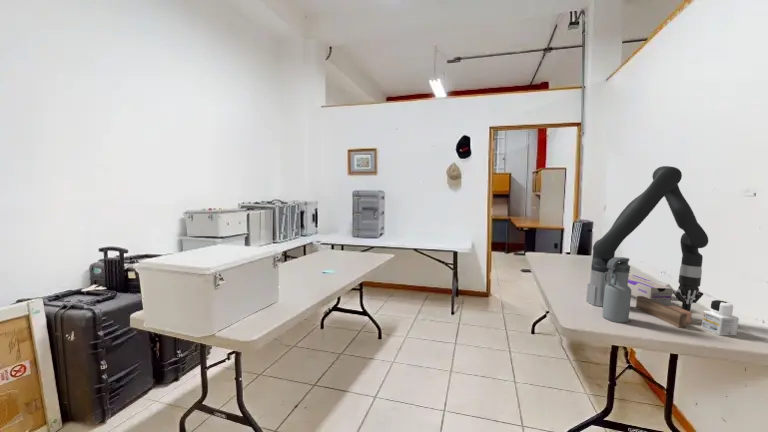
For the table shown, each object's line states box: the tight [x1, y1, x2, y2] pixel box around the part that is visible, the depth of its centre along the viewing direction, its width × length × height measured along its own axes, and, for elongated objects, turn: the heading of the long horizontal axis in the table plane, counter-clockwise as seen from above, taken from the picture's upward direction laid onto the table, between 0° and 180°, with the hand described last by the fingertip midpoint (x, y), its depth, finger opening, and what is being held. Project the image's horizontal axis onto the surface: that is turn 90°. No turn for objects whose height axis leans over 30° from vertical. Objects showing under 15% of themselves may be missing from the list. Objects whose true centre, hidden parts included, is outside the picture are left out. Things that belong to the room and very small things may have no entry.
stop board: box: [635, 296, 687, 329], centre depth 159 cm, size 3×24×6 cm, turn 2°
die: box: [657, 282, 675, 295], centre depth 189 cm, size 8×9×10 cm
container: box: [701, 299, 740, 336], centre depth 144 cm, size 8×8×13 cm
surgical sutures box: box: [628, 274, 673, 306], centre depth 183 cm, size 25×11×11 cm, turn 1°
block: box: [668, 305, 693, 324], centre depth 157 cm, size 8×8×5 cm
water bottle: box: [601, 256, 632, 324], centre depth 153 cm, size 10×10×28 cm
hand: (685, 311), depth 159 cm, fingers closed
